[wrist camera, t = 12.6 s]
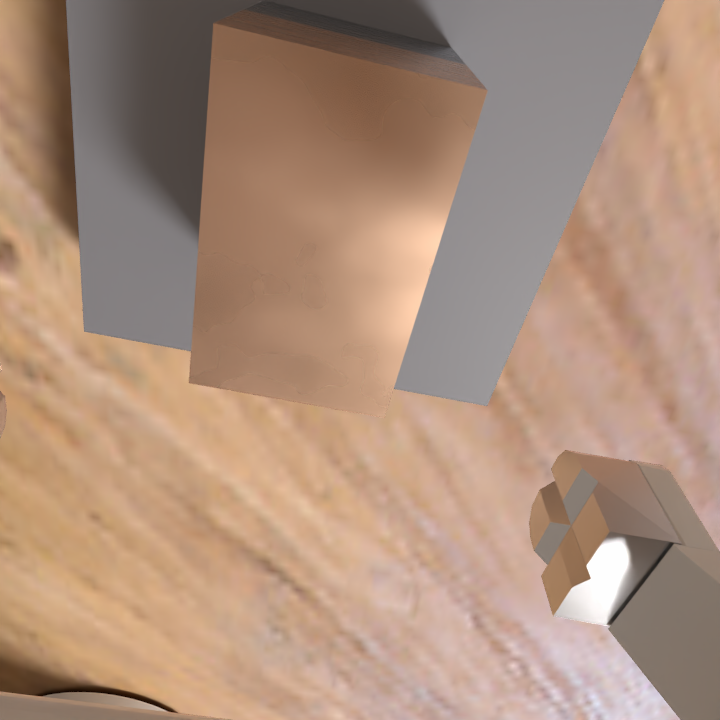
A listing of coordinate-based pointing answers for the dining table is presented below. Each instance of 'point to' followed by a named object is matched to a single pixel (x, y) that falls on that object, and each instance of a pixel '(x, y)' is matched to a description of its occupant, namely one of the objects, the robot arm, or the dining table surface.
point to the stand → (471, 201)
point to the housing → (322, 203)
